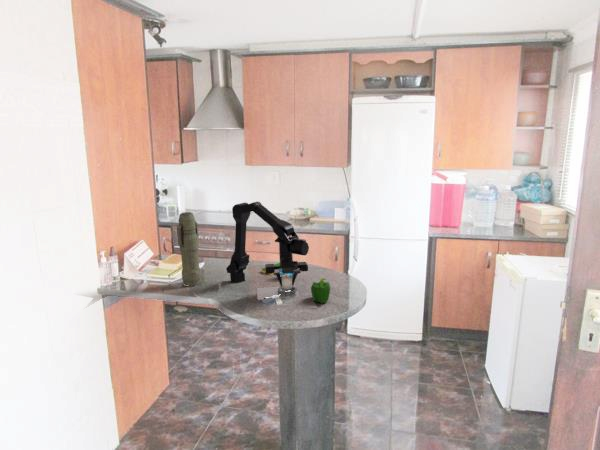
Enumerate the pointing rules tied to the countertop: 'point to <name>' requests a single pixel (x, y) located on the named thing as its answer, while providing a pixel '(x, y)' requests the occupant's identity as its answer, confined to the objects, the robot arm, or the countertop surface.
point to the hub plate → (276, 292)
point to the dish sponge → (272, 273)
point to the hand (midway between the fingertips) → (287, 285)
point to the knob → (286, 281)
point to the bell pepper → (320, 291)
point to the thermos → (189, 249)
